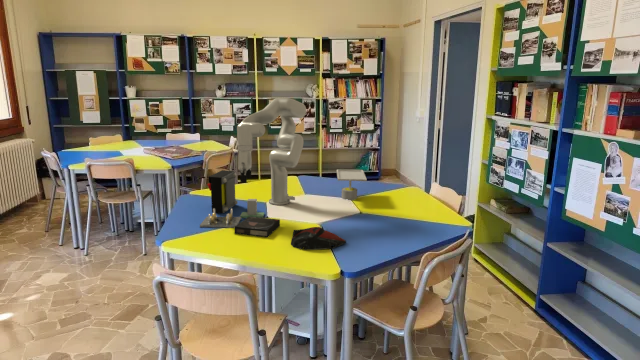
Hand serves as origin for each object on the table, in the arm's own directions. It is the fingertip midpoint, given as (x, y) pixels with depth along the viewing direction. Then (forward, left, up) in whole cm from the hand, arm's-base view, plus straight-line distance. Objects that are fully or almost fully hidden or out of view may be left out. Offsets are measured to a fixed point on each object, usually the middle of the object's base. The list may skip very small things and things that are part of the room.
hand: (246, 180), depth 227 cm
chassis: (+11, +12, -20) cm, 25 cm away
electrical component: (+15, -13, -20) cm, 28 cm away
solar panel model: (-58, -40, -20) cm, 73 cm away
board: (-3, 0, -20) cm, 20 cm away
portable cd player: (-9, +22, -20) cm, 31 cm away
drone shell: (-38, +39, -20) cm, 58 cm away
